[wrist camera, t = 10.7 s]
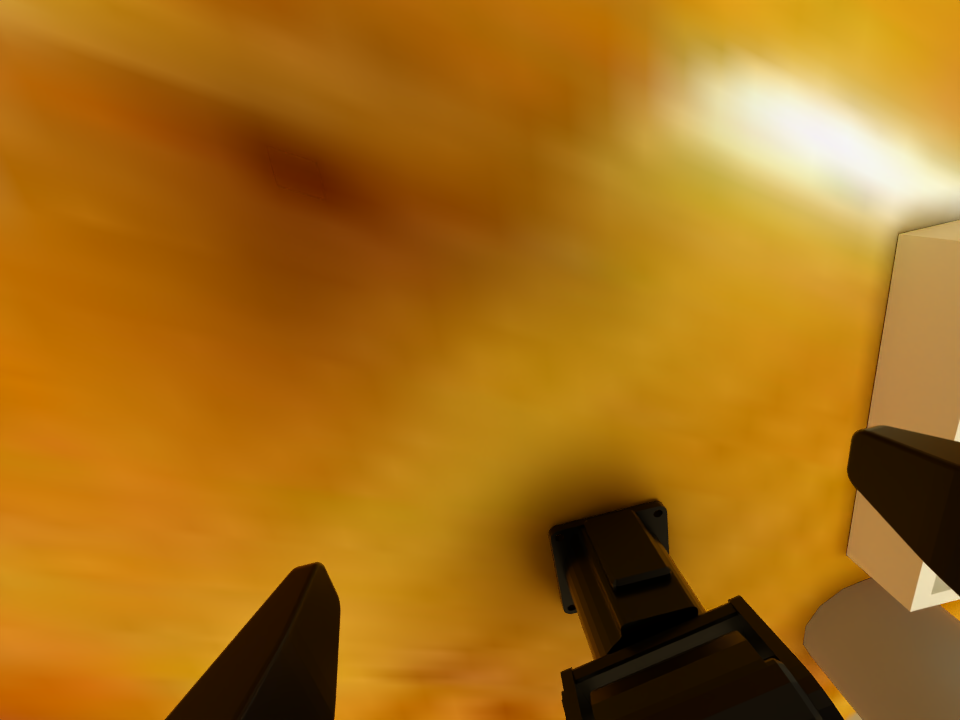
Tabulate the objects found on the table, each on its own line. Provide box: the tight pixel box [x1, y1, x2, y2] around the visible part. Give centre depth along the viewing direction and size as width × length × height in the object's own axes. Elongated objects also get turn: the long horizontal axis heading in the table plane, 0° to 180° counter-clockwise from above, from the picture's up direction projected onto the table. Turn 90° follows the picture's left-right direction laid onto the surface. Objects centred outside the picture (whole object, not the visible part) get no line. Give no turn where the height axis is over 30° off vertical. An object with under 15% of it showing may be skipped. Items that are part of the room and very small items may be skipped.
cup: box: [803, 578, 960, 720], centre depth 26 cm, size 8×8×10 cm
